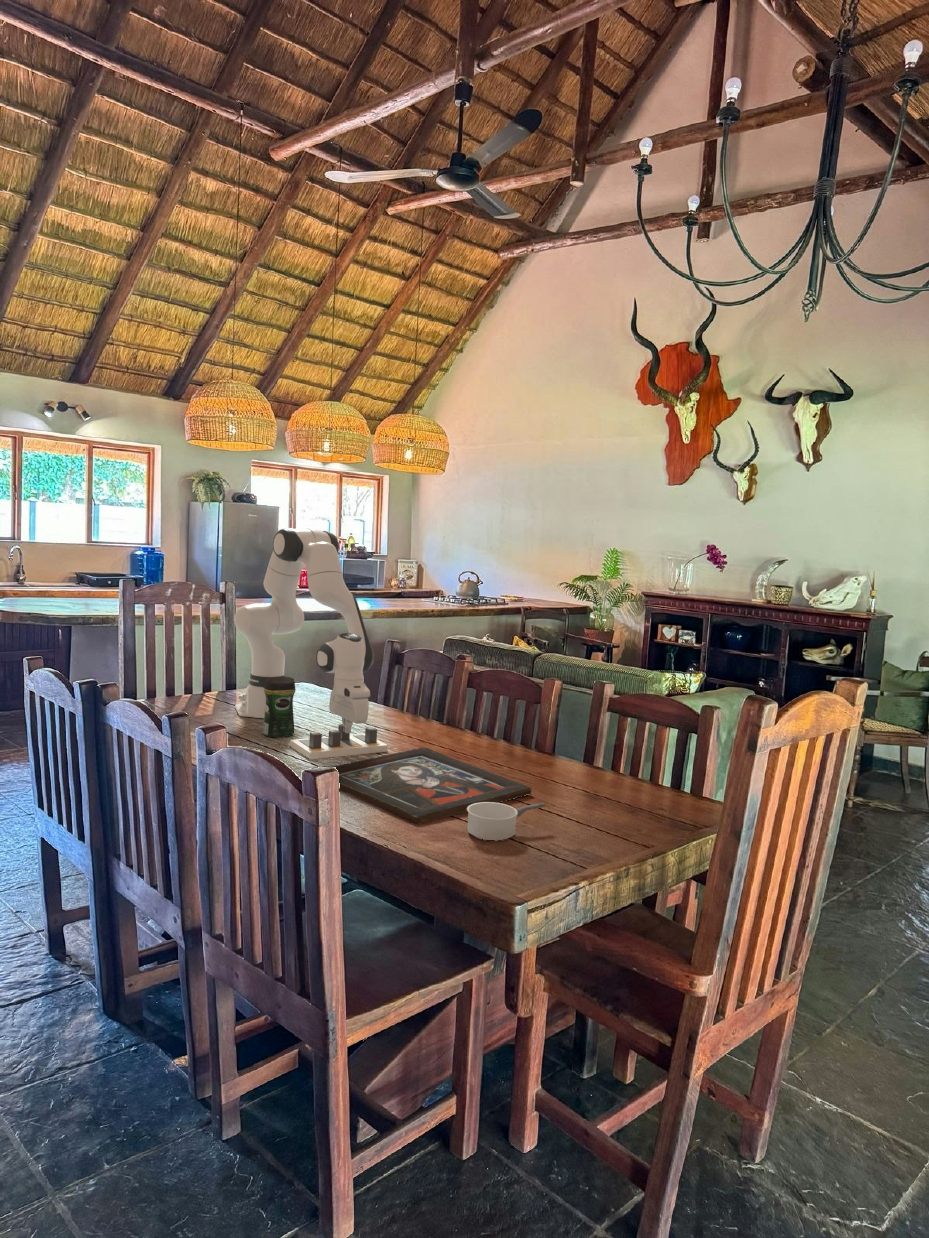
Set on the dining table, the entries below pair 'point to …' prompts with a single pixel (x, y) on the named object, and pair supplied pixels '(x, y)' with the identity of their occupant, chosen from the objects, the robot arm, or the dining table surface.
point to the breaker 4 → (371, 735)
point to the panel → (338, 747)
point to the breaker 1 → (315, 739)
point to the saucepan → (494, 819)
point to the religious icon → (424, 784)
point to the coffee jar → (279, 707)
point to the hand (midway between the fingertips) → (347, 732)
